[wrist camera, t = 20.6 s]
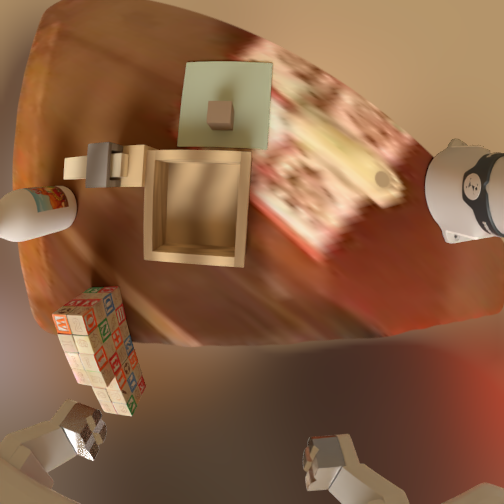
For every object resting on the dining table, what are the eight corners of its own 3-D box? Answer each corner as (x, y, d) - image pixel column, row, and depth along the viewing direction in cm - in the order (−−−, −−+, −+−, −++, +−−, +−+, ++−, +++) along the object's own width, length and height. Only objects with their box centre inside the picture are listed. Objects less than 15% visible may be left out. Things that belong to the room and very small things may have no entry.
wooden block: (128, 154, 30) (121, 153, 28) (127, 177, 31) (120, 176, 29) (73, 158, 30) (64, 158, 28) (71, 179, 31) (63, 179, 29)
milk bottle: (83, 221, 41) (-3, 245, 21) (54, 234, 41) (-27, 262, 22) (72, 178, 39) (-16, 182, 19) (44, 195, 39) (-39, 207, 20)
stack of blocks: (147, 386, 48) (126, 428, 36) (120, 383, 48) (96, 422, 36) (119, 285, 43) (81, 315, 31) (90, 286, 43) (50, 314, 31)
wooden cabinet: (252, 154, 38) (251, 140, 27) (245, 254, 42) (242, 279, 30) (115, 153, 38) (72, 146, 27) (113, 244, 41) (72, 264, 30)
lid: (272, 66, 36) (274, 48, 30) (266, 150, 39) (269, 143, 33) (188, 64, 35) (179, 48, 30) (178, 147, 39) (166, 141, 33)
